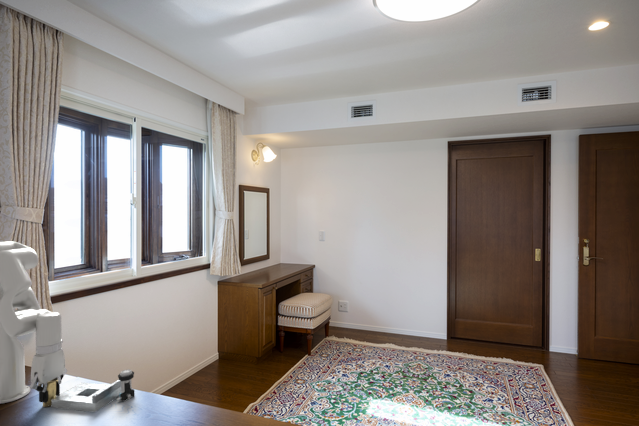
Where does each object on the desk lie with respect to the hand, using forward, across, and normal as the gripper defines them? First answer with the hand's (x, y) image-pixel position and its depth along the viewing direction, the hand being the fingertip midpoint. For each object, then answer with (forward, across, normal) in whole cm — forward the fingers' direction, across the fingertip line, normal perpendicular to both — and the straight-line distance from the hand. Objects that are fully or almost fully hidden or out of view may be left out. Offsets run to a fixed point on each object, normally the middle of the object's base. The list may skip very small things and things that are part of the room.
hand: (49, 398), depth 136 cm
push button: (+2, -8, +25) cm, 26 cm away
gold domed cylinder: (+2, 0, 0) cm, 2 cm away
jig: (+2, -5, +12) cm, 13 cm away
